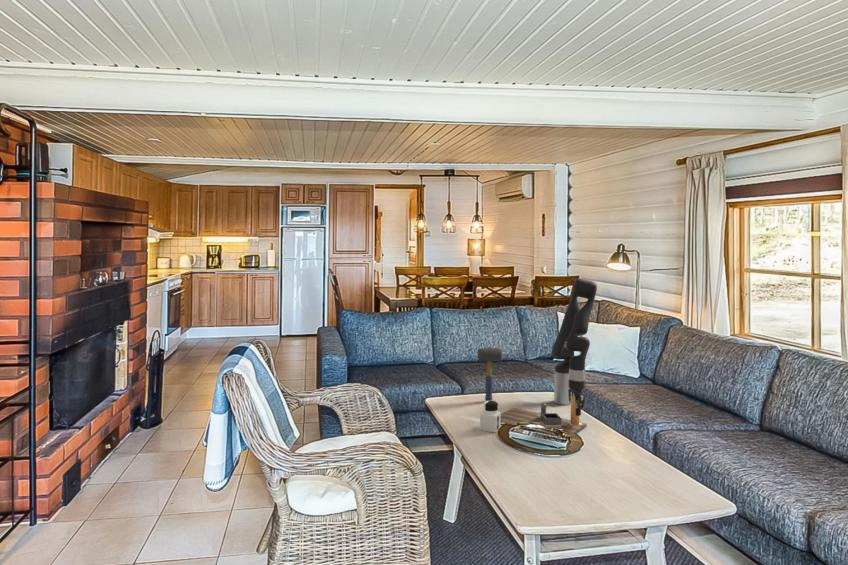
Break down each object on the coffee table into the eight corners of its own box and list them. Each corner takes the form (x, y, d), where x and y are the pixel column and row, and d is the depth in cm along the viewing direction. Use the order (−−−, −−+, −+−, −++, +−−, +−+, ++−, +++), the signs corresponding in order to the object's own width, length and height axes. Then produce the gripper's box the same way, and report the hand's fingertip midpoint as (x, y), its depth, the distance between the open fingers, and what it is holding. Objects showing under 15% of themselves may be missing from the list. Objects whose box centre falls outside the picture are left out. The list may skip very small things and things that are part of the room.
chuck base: (513, 410, 278) (513, 407, 278) (586, 426, 255) (586, 423, 254) (489, 422, 259) (489, 418, 259) (566, 441, 236) (566, 437, 236)
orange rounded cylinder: (580, 423, 254) (581, 396, 253) (577, 425, 251) (577, 398, 250) (572, 421, 257) (573, 394, 256) (569, 423, 254) (569, 396, 253)
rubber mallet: (497, 399, 298) (499, 346, 296) (501, 403, 290) (502, 348, 288) (476, 400, 296) (476, 346, 294) (479, 404, 289) (480, 349, 287)
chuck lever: (534, 416, 263) (534, 402, 263) (549, 416, 264) (549, 402, 263) (544, 429, 245) (545, 414, 244) (561, 429, 245) (561, 414, 244)
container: (500, 427, 252) (501, 400, 251) (495, 432, 245) (496, 405, 244) (484, 425, 255) (485, 398, 254) (479, 430, 248) (480, 402, 247)
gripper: (563, 374, 259) (562, 409, 260) (575, 382, 245) (574, 418, 246) (578, 374, 260) (577, 408, 261) (591, 382, 246) (589, 418, 247)
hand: (575, 413), depth 253 cm, fingers open, 5 cm apart
